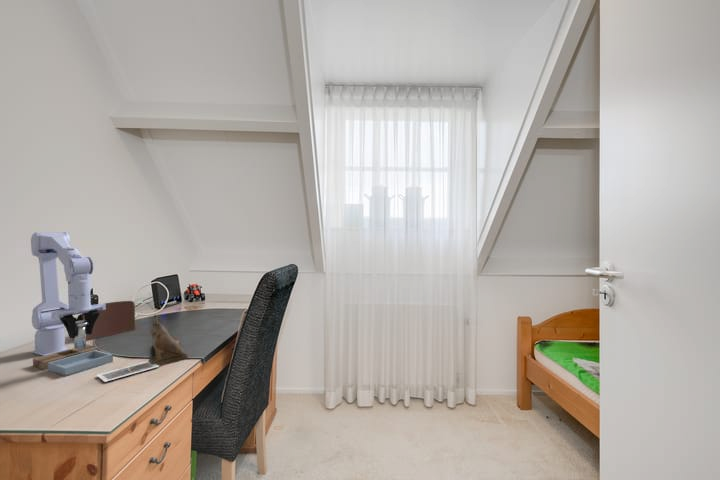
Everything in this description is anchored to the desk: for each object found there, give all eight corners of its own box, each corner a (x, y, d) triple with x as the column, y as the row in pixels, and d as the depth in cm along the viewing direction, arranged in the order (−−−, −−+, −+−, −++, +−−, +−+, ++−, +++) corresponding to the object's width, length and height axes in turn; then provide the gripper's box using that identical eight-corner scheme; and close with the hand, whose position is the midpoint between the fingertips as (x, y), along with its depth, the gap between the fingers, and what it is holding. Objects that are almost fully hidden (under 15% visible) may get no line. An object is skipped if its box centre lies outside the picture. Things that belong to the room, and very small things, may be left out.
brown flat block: (33, 366, 116) (32, 358, 116) (87, 351, 131) (87, 344, 131) (44, 370, 113) (44, 362, 113) (99, 354, 128) (99, 347, 127)
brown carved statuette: (151, 374, 116) (137, 322, 113) (149, 368, 120) (135, 319, 117) (190, 358, 123) (177, 310, 120) (187, 354, 127) (174, 306, 124)
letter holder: (135, 330, 159) (135, 299, 159) (83, 342, 142) (82, 307, 142) (124, 327, 164) (123, 296, 164) (72, 338, 148) (71, 304, 147)
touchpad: (159, 369, 115) (159, 362, 115) (105, 385, 103) (104, 378, 103) (149, 363, 119) (149, 357, 119) (96, 378, 108) (96, 371, 108)
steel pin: (68, 348, 116) (68, 322, 115) (84, 344, 119) (84, 319, 119) (76, 350, 114) (76, 324, 113) (91, 346, 118) (91, 321, 117)
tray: (47, 370, 113) (47, 362, 113) (95, 356, 125) (95, 349, 125) (65, 376, 108) (65, 368, 108) (112, 361, 120) (112, 354, 120)
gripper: (59, 299, 108) (60, 343, 108) (110, 291, 121) (111, 331, 121) (47, 297, 111) (48, 340, 111) (98, 290, 124) (99, 329, 124)
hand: (80, 335), depth 116 cm, fingers closed on steel pin, 4 cm apart
